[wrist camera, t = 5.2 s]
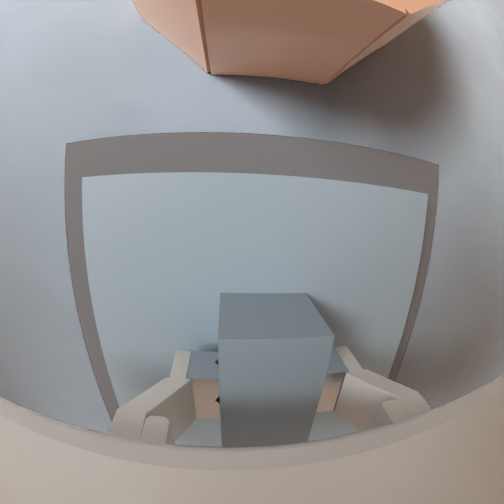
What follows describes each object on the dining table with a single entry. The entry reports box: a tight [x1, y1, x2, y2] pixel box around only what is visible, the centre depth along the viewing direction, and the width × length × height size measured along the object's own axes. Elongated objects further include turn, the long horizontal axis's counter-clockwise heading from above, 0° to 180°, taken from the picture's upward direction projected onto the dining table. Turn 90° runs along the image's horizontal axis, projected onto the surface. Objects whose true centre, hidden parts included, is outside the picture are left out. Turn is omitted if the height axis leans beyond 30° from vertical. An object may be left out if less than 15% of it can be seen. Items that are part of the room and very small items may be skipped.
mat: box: [65, 132, 438, 447], centre depth 11 cm, size 16×16×1 cm
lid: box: [82, 172, 428, 448], centre depth 9 cm, size 13×13×4 cm
